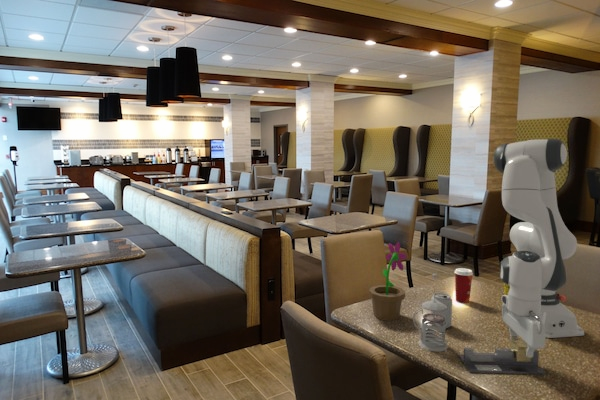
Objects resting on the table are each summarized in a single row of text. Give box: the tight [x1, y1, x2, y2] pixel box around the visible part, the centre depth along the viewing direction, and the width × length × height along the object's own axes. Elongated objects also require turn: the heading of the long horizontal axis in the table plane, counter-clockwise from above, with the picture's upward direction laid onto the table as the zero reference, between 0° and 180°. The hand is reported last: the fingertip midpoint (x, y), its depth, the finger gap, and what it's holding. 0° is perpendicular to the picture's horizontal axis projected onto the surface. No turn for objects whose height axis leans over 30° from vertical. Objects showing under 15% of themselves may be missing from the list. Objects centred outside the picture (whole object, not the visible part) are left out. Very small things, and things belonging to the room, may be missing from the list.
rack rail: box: [458, 347, 546, 375], centre depth 127 cm, size 22×10×5 cm, turn 87°
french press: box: [412, 273, 449, 352], centre depth 140 cm, size 10×12×25 cm
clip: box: [509, 339, 531, 362], centre depth 127 cm, size 4×5×4 cm
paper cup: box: [453, 267, 474, 304], centre depth 182 cm, size 8×8×14 cm
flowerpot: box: [368, 241, 407, 321], centre depth 165 cm, size 14×14×30 cm
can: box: [430, 292, 453, 329], centre depth 156 cm, size 8×8×12 cm
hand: (521, 348), depth 127 cm, fingers open, 8 cm apart
